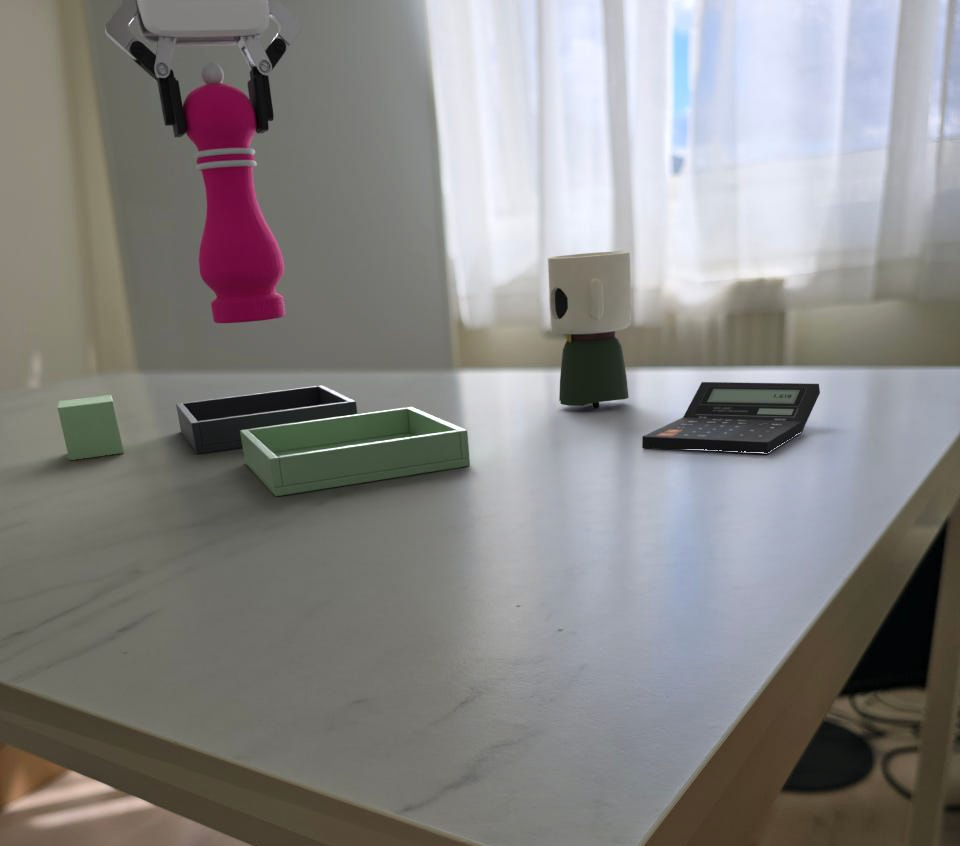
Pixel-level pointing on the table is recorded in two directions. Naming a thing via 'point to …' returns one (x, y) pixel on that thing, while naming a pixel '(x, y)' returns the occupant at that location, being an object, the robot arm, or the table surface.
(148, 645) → the table surface
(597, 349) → the character mug
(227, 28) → the robot arm
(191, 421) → the dark tray
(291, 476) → the sage tray
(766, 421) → the calculator
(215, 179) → the pepper mill
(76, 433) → the sage block
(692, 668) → the table surface
